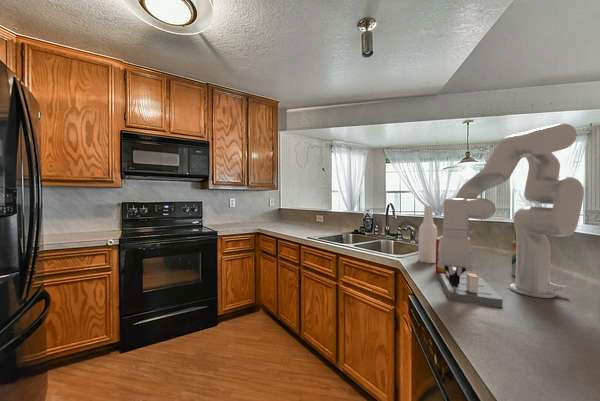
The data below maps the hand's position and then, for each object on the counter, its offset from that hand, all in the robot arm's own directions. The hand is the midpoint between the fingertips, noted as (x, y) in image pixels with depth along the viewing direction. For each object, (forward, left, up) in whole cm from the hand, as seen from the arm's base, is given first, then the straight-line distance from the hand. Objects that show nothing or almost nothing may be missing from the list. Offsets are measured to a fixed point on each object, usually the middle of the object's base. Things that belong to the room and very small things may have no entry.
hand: (454, 285), depth 93 cm
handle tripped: (-5, 0, -1) cm, 6 cm away
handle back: (-1, -16, -1) cm, 16 cm away
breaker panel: (-5, -8, -4) cm, 10 cm away
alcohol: (+4, -50, -4) cm, 50 cm away
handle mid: (-1, -8, -1) cm, 8 cm away
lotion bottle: (-32, -38, -4) cm, 50 cm away
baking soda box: (-2, -33, -4) cm, 33 cm away
